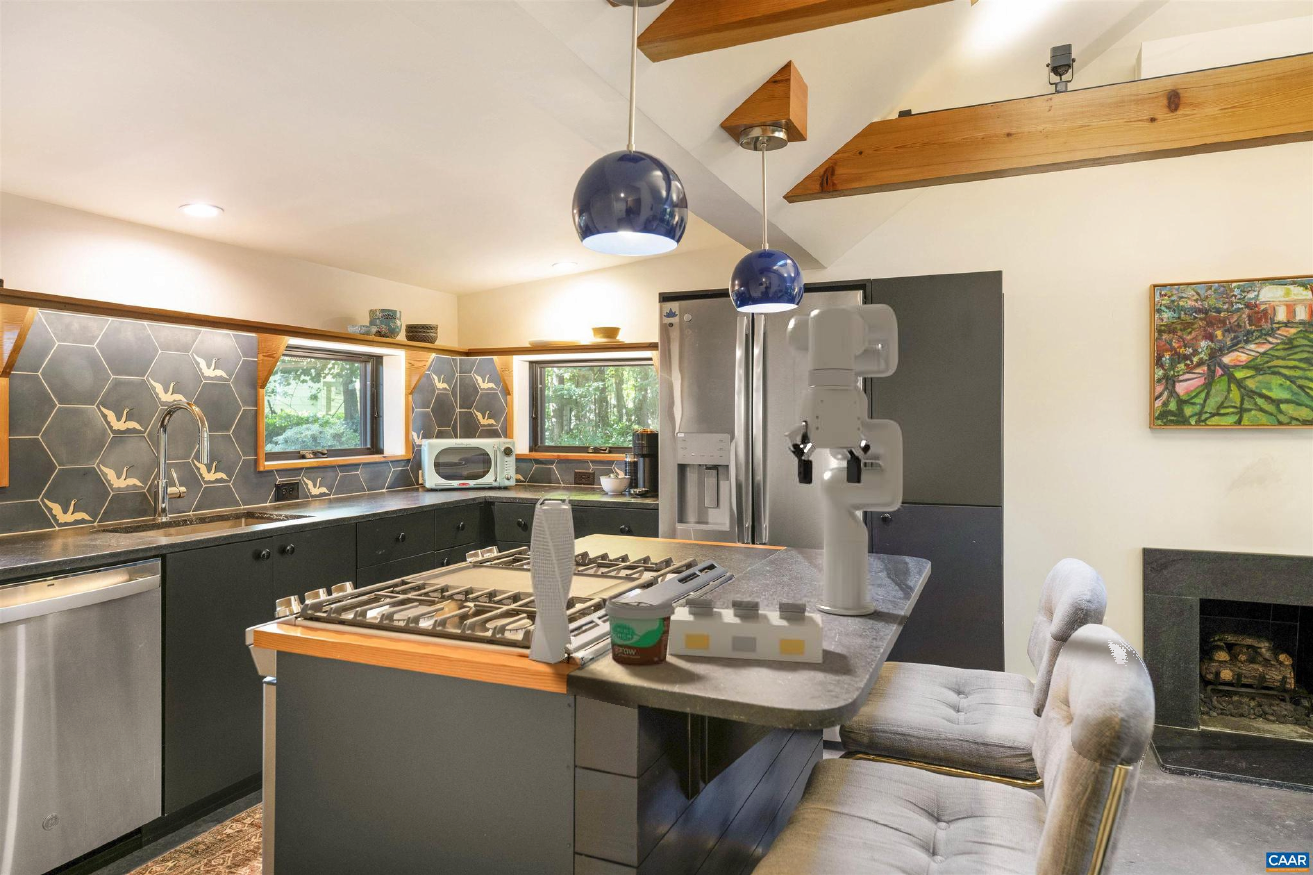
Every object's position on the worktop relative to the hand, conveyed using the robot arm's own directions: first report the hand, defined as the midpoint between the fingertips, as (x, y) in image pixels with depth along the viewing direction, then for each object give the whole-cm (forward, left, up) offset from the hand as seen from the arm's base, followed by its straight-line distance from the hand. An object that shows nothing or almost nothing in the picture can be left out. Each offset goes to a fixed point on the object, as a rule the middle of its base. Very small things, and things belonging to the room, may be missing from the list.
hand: (829, 483), depth 127 cm
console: (-4, -14, -30) cm, 33 cm away
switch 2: (-4, -14, -22) cm, 26 cm away
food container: (+7, -32, -30) cm, 45 cm away
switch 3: (-4, -6, -22) cm, 23 cm away
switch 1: (-4, -22, -22) cm, 31 cm away
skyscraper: (+7, -46, -30) cm, 56 cm away
